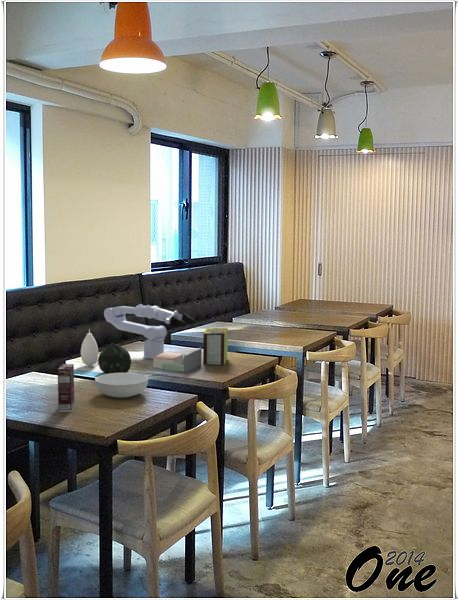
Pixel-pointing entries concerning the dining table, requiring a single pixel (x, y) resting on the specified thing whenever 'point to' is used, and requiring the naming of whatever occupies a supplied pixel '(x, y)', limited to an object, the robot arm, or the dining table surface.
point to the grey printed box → (186, 362)
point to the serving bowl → (121, 384)
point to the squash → (114, 359)
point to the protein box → (215, 346)
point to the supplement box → (66, 388)
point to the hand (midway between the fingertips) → (189, 323)
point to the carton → (167, 359)
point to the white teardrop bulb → (89, 350)
